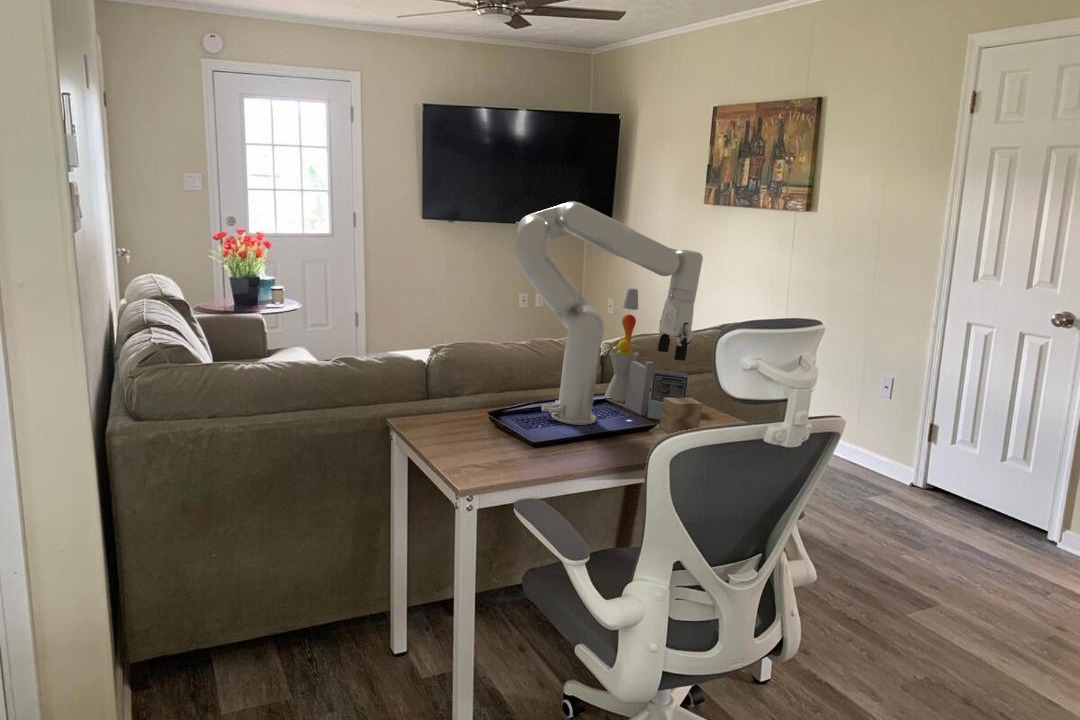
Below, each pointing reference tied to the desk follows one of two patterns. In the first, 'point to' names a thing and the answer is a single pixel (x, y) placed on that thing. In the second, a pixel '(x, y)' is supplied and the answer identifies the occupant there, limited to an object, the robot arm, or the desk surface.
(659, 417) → the door
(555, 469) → the desk surface
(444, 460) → the desk surface
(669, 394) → the small box
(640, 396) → the grey rectangular panel
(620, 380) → the lava lamp
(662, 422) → the wooden block
